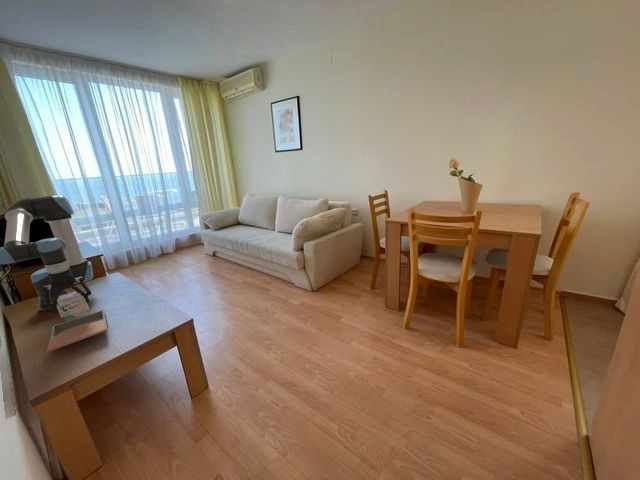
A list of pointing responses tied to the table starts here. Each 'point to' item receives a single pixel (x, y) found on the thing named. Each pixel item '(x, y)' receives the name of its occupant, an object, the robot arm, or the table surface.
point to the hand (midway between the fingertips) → (75, 312)
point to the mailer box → (78, 323)
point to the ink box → (72, 305)
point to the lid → (76, 334)
